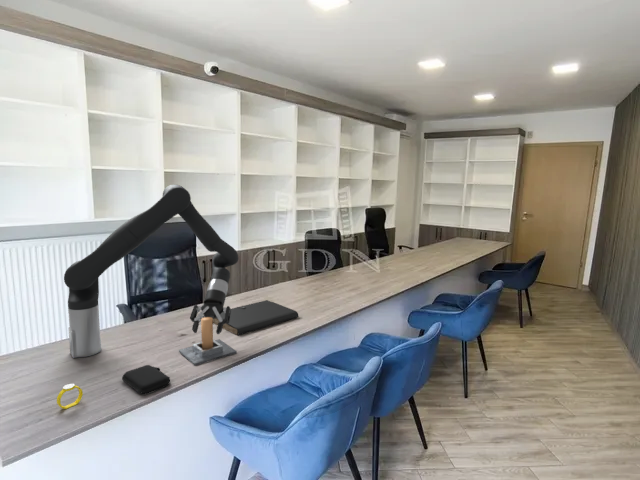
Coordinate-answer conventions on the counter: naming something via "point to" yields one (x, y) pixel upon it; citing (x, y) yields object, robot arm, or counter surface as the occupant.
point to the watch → (68, 388)
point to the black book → (256, 317)
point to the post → (207, 332)
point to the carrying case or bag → (146, 379)
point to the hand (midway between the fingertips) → (206, 332)
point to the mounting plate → (207, 352)
